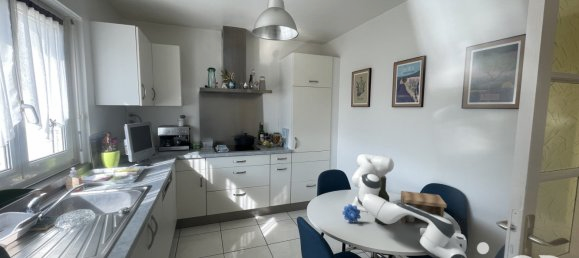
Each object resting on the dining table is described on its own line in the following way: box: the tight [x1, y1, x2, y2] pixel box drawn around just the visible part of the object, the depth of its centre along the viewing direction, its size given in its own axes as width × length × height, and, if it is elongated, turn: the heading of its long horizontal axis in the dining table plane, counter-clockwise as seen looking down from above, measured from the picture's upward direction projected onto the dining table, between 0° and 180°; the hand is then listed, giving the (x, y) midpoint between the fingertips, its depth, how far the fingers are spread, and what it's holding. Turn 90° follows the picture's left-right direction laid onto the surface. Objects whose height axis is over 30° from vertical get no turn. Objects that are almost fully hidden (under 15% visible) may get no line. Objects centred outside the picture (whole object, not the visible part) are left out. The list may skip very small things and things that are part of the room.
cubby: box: [400, 190, 448, 225], centre depth 147 cm, size 22×16×17 cm
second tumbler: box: [405, 203, 416, 223], centre depth 152 cm, size 6×6×11 cm
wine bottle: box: [374, 175, 390, 226], centre depth 148 cm, size 8×8×30 cm
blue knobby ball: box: [342, 203, 361, 224], centre depth 146 cm, size 12×7×12 cm, turn 93°
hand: (437, 229), depth 130 cm, fingers open, 8 cm apart
